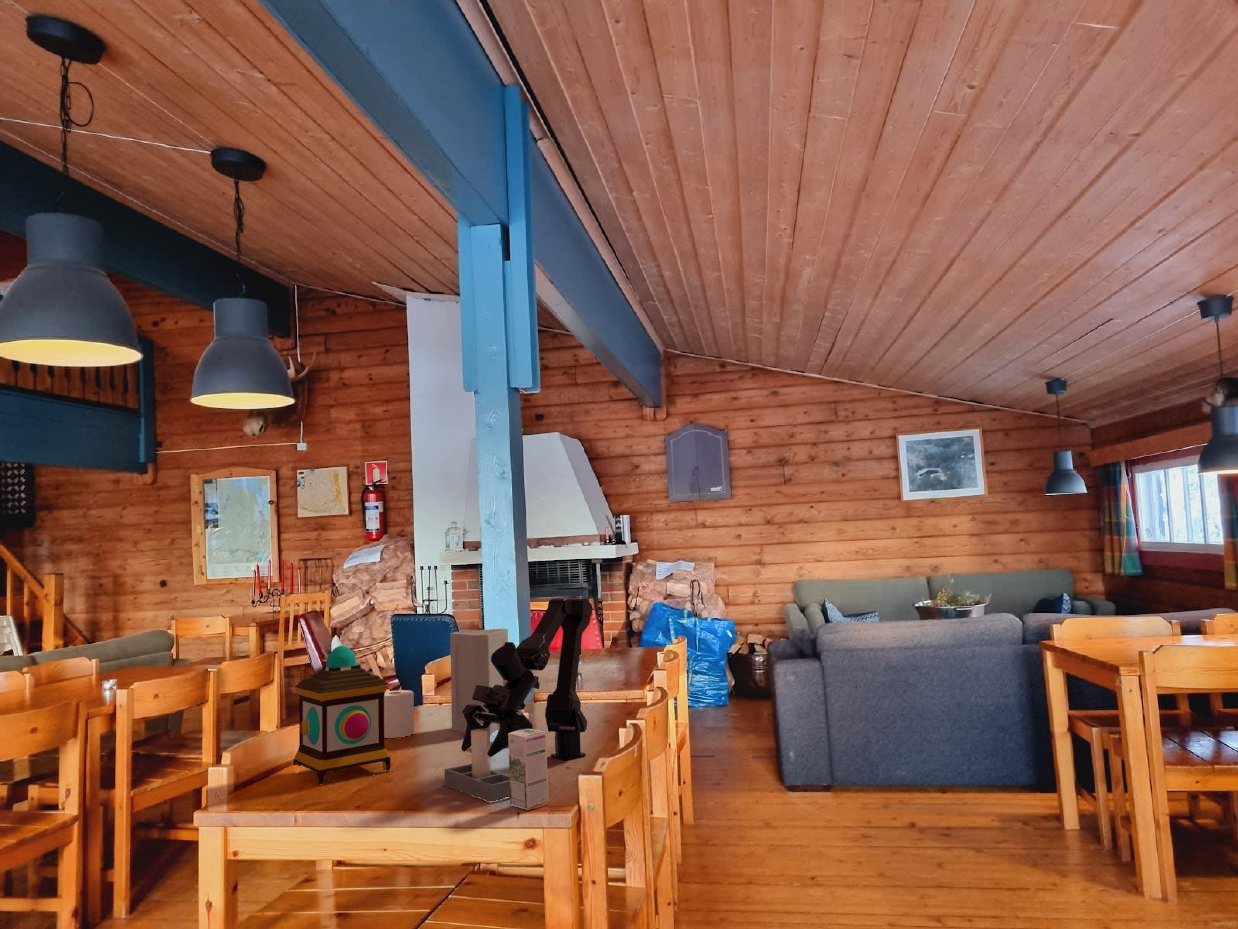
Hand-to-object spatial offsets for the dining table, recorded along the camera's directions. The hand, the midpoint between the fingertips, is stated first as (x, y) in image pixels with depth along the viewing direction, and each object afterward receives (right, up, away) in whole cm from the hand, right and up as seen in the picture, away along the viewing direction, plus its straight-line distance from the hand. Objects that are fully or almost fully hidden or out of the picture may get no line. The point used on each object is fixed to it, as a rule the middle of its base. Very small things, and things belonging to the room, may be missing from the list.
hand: (475, 753), depth 181 cm
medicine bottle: (+2, -13, +47) cm, 49 cm away
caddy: (+1, -8, 0) cm, 8 cm away
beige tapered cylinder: (+1, -8, 0) cm, 8 cm away
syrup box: (+13, -7, -12) cm, 19 cm away
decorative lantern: (-36, -12, +21) cm, 43 cm away
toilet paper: (-34, -17, +63) cm, 73 cm away
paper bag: (-11, -16, +68) cm, 71 cm away
